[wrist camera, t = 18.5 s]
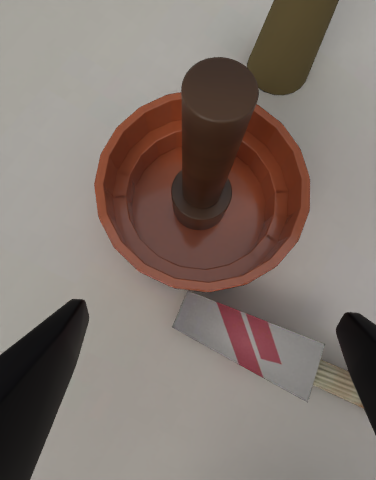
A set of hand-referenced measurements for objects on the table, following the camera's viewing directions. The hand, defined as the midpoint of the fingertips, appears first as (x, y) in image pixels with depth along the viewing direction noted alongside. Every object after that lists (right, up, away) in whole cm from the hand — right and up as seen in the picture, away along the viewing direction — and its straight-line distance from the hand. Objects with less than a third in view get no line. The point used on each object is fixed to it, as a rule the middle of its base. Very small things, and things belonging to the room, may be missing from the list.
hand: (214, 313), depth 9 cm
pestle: (0, +6, +12) cm, 13 cm away
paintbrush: (+8, -7, +10) cm, 14 cm away
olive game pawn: (+8, +20, +16) cm, 26 cm away
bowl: (0, +5, +13) cm, 14 cm away
